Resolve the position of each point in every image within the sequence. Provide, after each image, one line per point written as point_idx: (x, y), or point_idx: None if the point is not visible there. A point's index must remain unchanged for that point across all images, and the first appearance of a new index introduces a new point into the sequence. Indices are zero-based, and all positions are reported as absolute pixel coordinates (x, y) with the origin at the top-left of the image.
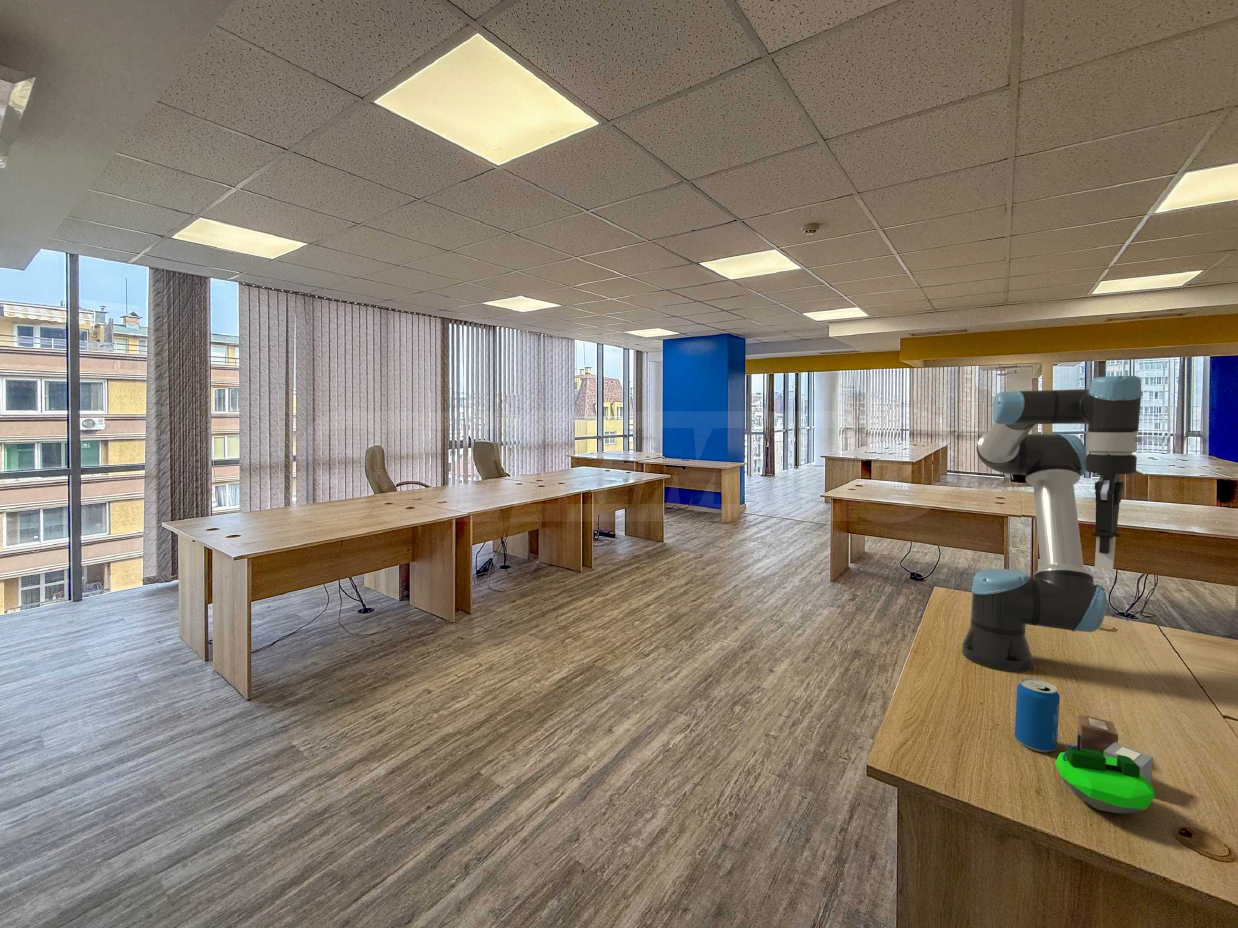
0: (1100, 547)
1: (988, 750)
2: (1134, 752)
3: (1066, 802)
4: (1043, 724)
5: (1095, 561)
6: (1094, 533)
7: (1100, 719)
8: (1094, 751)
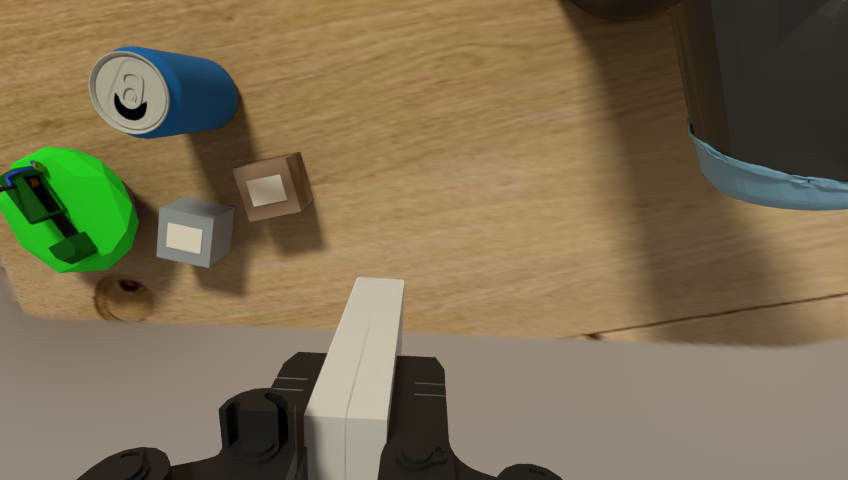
0: (277, 385)
1: (105, 28)
2: (197, 246)
3: None
4: (143, 112)
5: (352, 296)
6: (249, 427)
7: (293, 192)
8: (35, 208)
